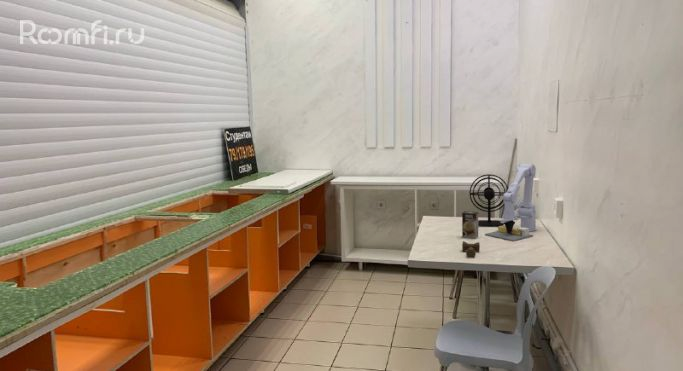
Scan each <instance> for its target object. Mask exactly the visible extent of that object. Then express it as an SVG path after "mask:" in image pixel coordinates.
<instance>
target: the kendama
mask: <svg viewBox="0 0 683 371" xmlns="http://www.w3.org/2000/svg"><path fill="white" fill-rule="evenodd" d="M480 245H481V244H480V242H479V241H477V242H474V243H467V242H466V241H464V240H463V241H462V246H461V250H462V252H465V254H466V257H468V258H469V257H473V258H475V257H476V254H477V253H479V252H480ZM476 252H477V253H476Z"/></svg>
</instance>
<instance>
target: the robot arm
mask: <svg viewBox="0 0 683 371" xmlns="http://www.w3.org/2000/svg"><path fill="white" fill-rule="evenodd" d="M536 169H537V168H536V166H535V164H534V163H519V164H518V165H517V167H516V172H517V173H516V176H515V178H514V181H513V182H511V183H510V184H509V186H508V191H507V190H506V193H504V195H503V196H502V200H503V204H505V205H504V218H502V219H500V221H501V223H504V225H505V226H506V229H507V233H511V232H512V228H514V226H515V224H516V221H518V220H519V217H520V227H524V228H529V233H530V232H534V231H537V228H536V227H537V226H536V223H537V222H536V218H535V216H536V213H537V212H536V205H534V204H533V202H532V200H533V199H532V197H533V188H534V179H535V177H536V171H537V170H536ZM523 179H524V187H523V197H522V198H523V199H522V202H521V203H519V206H518V208H517V214H518V216H519V217H518V216H515V202H516V201H517V196H518V195H517V194H518V192H519V190H520V187H521V186H520V184H521V182H522V180H523Z"/></svg>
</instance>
